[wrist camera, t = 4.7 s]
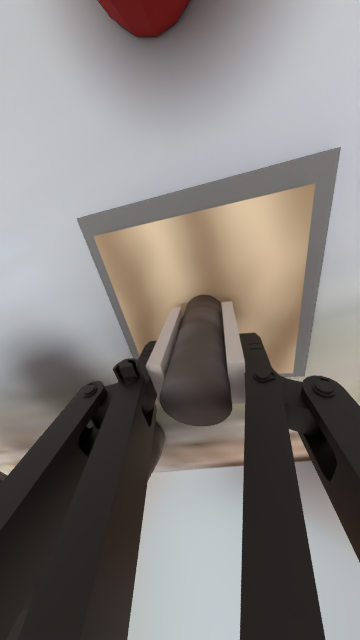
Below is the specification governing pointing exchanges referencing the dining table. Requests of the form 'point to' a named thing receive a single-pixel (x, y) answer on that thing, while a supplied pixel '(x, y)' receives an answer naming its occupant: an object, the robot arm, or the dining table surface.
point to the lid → (214, 290)
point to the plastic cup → (145, 14)
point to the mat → (229, 191)
